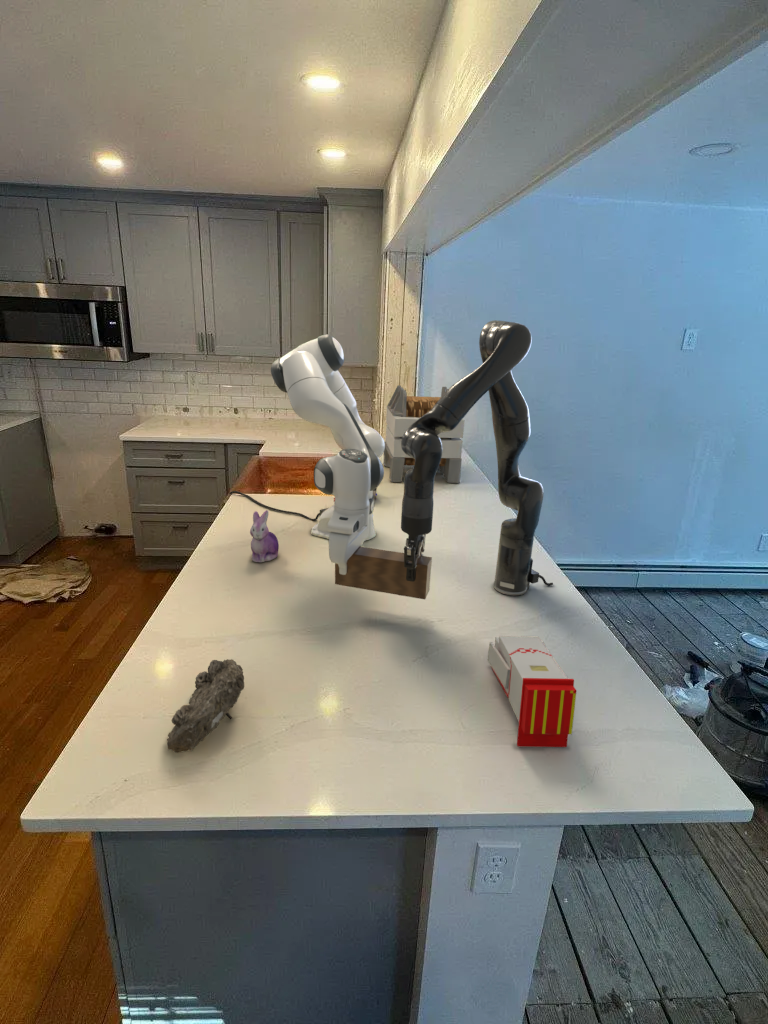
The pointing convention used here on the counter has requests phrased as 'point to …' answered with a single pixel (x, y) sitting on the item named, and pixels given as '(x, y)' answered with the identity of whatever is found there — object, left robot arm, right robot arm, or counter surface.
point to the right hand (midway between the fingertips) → (413, 575)
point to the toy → (534, 690)
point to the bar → (385, 573)
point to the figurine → (262, 539)
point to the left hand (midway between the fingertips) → (350, 565)
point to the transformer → (401, 418)
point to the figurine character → (374, 493)
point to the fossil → (206, 705)
